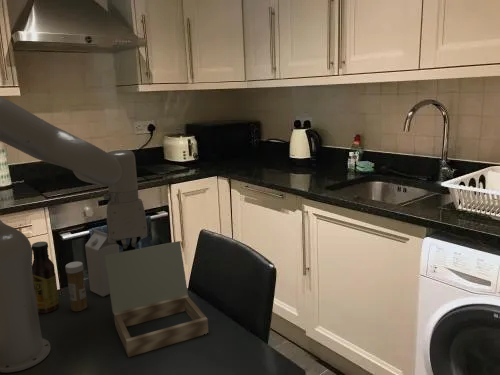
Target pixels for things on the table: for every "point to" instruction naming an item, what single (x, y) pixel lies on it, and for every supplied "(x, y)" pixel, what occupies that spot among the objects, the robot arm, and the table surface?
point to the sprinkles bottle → (76, 286)
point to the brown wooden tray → (164, 335)
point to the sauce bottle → (44, 278)
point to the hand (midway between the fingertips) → (130, 259)
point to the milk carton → (99, 261)
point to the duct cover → (145, 276)
